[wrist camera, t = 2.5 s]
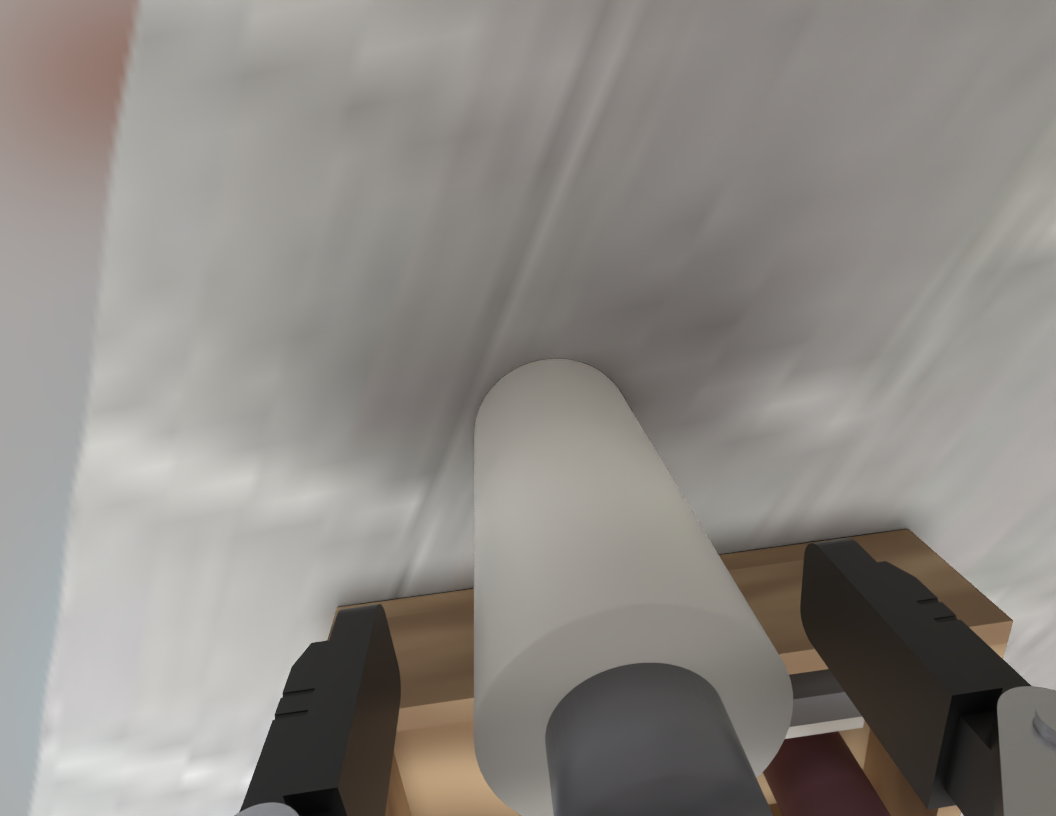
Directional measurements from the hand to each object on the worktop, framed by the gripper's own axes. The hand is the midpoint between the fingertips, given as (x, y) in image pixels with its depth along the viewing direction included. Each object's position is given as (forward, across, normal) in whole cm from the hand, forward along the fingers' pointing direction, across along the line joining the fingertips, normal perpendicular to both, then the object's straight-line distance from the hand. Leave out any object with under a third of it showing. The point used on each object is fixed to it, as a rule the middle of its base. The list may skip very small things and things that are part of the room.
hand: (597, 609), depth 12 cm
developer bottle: (+7, 0, 0) cm, 7 cm away
